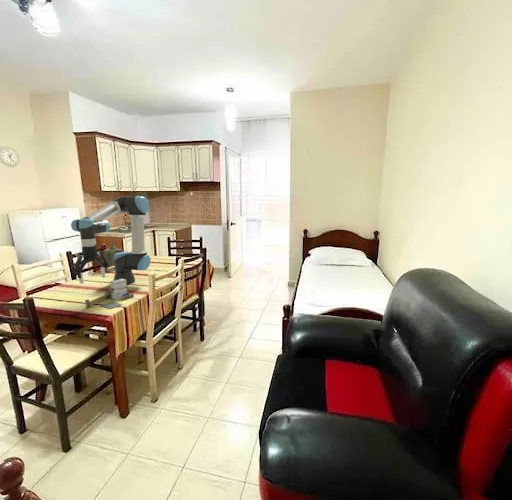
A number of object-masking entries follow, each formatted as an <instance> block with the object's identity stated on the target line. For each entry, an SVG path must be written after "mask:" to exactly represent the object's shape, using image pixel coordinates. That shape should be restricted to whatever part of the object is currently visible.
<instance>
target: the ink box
mask: <svg viewBox="0 0 512 500" xmlns="http://www.w3.org/2000/svg"><path fill="white" fill-rule="evenodd" d="M113 280H114V279H113ZM113 280H110V282H109V283H110V289H111V295H112V297H111V299H112V300H115V301H118V300H119V299H121V298H122V297H125V296H127V292H128V290H127V289H128V288H127V287H128V286H127V285H128V284H127V285H126V280H125V279H118V280H114V281H113Z"/></svg>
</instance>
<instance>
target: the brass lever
mask: <svg viewBox="0 0 512 500" xmlns="http://www.w3.org/2000/svg"><path fill="white" fill-rule="evenodd" d="M109 297H110V292H109V290H108V291H107V290H106V291H104V294H103V295H101V296H98V297H95V298H94V299H91V300H90V299H88V298H87V299H85V300H84V301H85V303H84V306H85V308H87V309H88V308H90V307H91V306H93V305H95V304H97V303H99V302H101V301H103V300H106V299H105V298H109Z"/></svg>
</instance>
